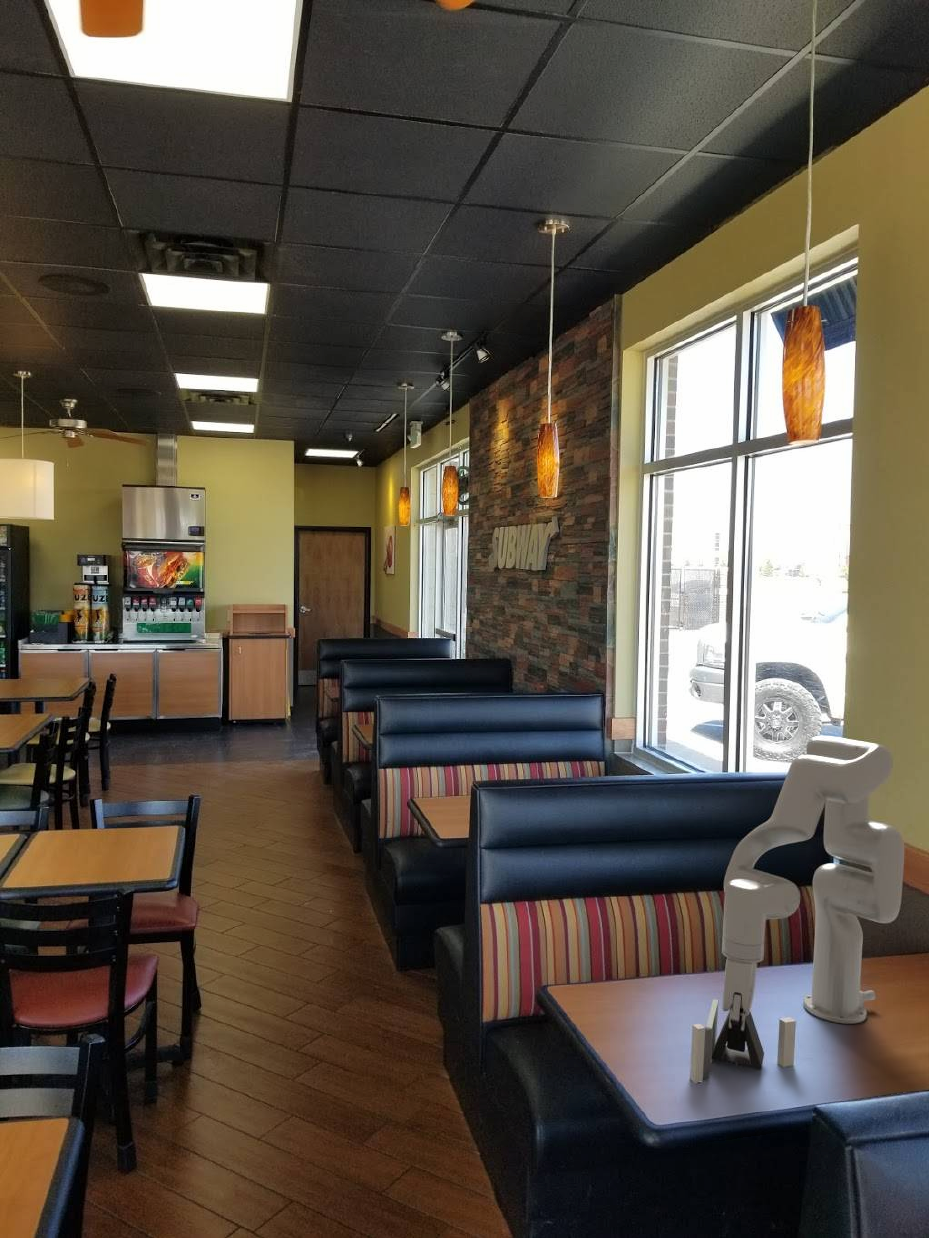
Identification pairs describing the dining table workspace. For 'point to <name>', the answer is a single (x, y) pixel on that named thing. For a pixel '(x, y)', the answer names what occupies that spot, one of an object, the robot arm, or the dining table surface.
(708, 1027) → the door
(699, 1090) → the dining table surface
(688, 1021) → the dining table surface
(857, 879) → the robot arm
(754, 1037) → the phone stand
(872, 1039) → the dining table surface
